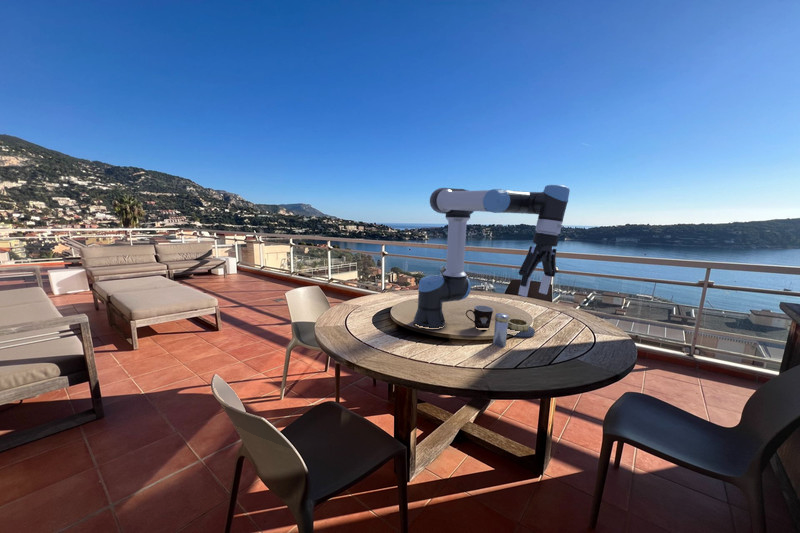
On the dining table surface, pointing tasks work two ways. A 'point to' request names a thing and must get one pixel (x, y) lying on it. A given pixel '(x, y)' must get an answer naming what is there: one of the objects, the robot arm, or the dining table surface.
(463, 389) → the dining table surface
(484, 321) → the coffee mug
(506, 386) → the dining table surface
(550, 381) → the dining table surface
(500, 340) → the salt shaker
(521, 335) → the socket plate
